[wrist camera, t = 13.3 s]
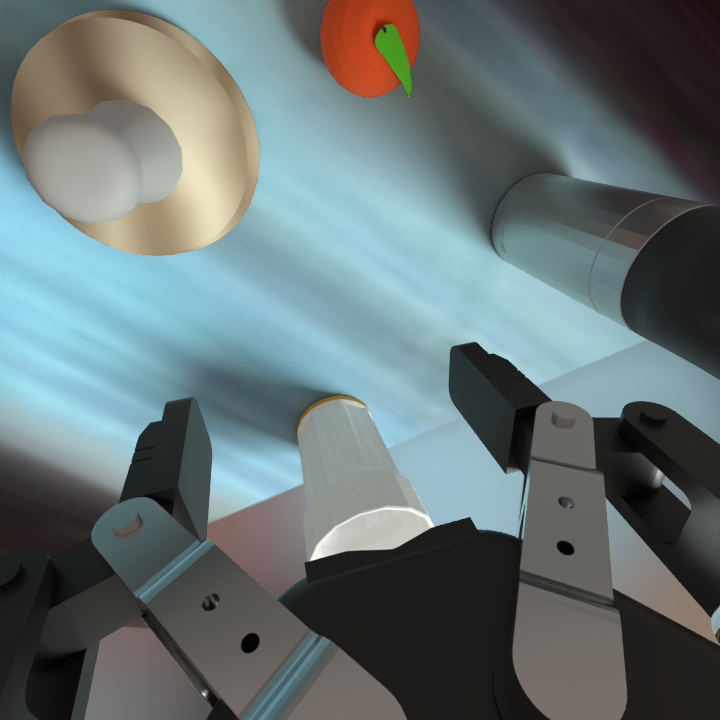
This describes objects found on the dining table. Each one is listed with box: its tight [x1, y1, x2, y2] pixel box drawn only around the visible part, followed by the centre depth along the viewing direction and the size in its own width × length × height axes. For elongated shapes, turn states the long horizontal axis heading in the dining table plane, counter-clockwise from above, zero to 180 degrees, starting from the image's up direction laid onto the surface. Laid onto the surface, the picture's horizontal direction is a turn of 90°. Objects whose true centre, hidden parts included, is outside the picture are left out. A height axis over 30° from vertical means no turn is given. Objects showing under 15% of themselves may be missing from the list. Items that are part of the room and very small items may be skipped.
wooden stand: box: [10, 9, 259, 256], centre depth 30 cm, size 16×16×5 cm
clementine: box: [320, 0, 420, 99], centre depth 30 cm, size 8×7×7 cm
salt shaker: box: [22, 99, 183, 224], centre depth 23 cm, size 6×6×13 cm
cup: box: [296, 395, 435, 562], centre depth 43 cm, size 11×11×17 cm
